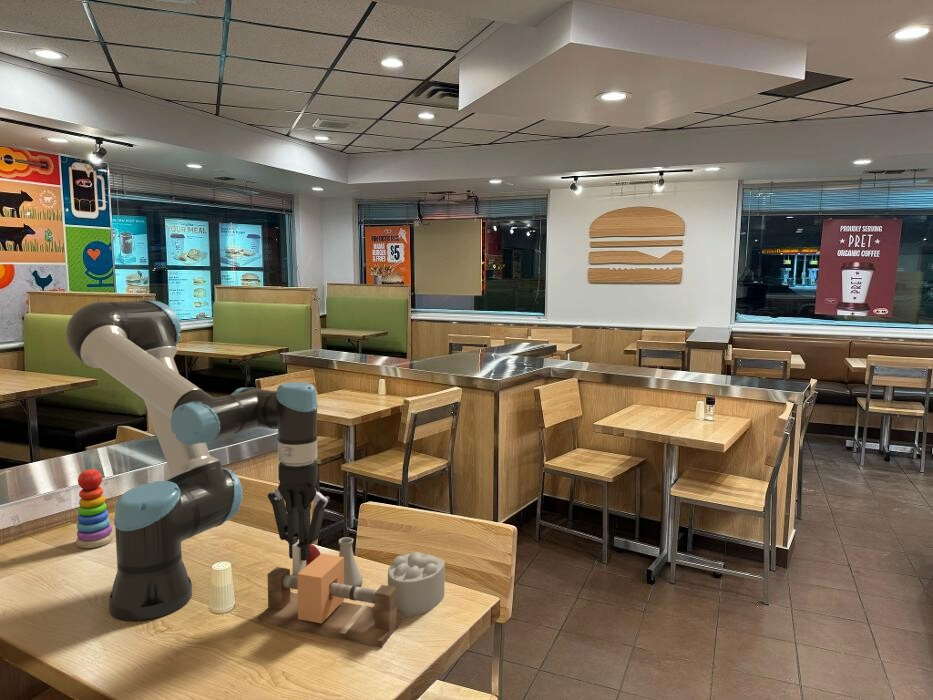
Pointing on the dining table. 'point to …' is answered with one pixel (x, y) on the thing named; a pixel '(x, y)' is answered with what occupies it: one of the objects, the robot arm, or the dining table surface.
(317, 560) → the collar
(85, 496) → the stacking toy
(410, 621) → the dining table surface
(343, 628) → the pipe stand
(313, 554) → the onion
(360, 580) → the flask
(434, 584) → the lumpy-topped squat cylinder
